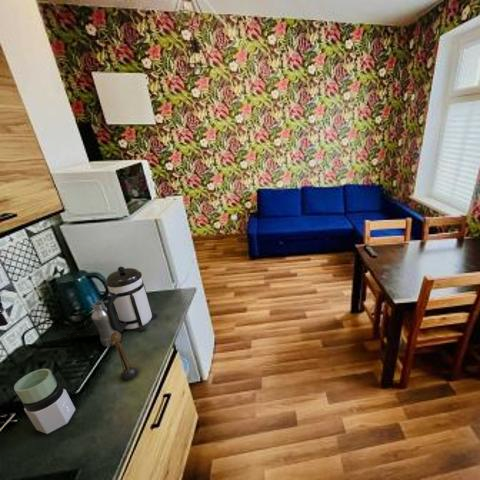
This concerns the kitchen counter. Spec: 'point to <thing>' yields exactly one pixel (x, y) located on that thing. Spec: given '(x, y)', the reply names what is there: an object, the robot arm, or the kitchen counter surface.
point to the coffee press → (128, 299)
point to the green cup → (35, 386)
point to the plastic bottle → (103, 323)
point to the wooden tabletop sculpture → (123, 358)
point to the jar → (51, 410)
